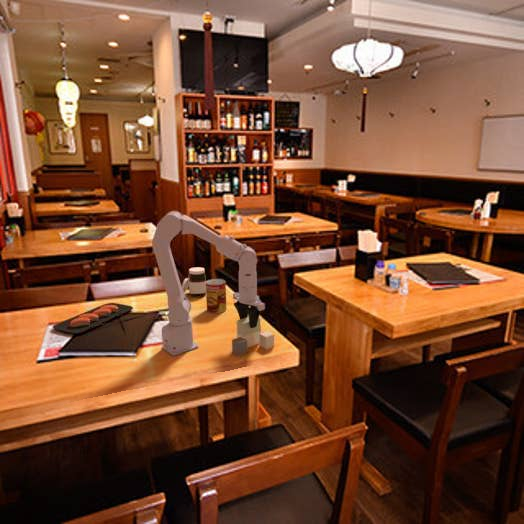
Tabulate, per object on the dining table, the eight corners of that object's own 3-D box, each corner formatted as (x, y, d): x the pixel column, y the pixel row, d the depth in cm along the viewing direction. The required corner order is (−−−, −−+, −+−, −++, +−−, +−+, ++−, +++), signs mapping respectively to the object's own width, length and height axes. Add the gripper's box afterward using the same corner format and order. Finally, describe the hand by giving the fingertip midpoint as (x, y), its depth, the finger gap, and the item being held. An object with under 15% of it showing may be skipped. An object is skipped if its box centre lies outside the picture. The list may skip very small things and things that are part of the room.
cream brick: (243, 349, 133) (243, 336, 132) (237, 345, 136) (237, 333, 135) (260, 342, 138) (260, 330, 137) (254, 339, 140) (253, 327, 139)
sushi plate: (110, 306, 175) (109, 297, 174) (166, 317, 162) (166, 308, 161) (49, 331, 150) (48, 322, 149) (110, 347, 137) (109, 336, 136)
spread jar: (207, 296, 183) (207, 271, 180) (182, 299, 180) (180, 273, 177) (204, 288, 195) (203, 264, 192) (179, 290, 192) (178, 266, 189)
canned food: (203, 310, 167) (201, 282, 164) (216, 305, 173) (215, 277, 170) (217, 314, 162) (216, 285, 159) (230, 309, 168) (229, 280, 165)
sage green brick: (253, 327, 139) (253, 315, 138) (260, 330, 137) (260, 318, 136) (237, 333, 135) (236, 320, 134) (243, 336, 132) (243, 323, 131)
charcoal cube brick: (238, 356, 129) (238, 343, 128) (232, 352, 131) (231, 339, 130) (247, 353, 131) (247, 340, 130) (241, 349, 133) (240, 336, 132)
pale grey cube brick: (266, 349, 133) (266, 337, 132) (259, 346, 136) (259, 333, 134) (274, 346, 135) (274, 334, 134) (267, 343, 138) (267, 330, 136)
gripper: (272, 288, 129) (272, 328, 132) (244, 278, 140) (245, 315, 143) (254, 292, 124) (255, 334, 128) (227, 282, 135) (228, 320, 139)
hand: (248, 324), depth 135 cm, fingers open, 4 cm apart
